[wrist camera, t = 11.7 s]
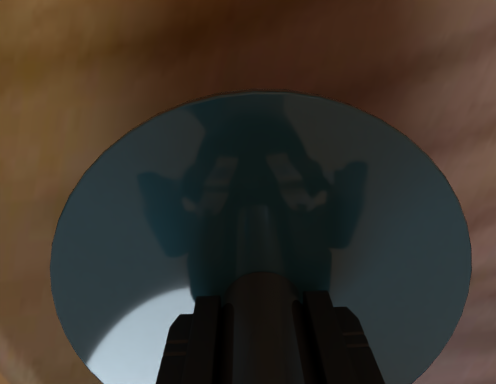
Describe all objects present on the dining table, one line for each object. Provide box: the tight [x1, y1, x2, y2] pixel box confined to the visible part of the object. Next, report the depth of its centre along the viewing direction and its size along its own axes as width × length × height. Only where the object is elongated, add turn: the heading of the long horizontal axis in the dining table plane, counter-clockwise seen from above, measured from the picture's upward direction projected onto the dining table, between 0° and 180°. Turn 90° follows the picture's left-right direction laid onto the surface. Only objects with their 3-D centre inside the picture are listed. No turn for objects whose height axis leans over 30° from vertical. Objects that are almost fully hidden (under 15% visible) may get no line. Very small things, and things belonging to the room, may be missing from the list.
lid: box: [50, 89, 472, 384], centre depth 10 cm, size 14×14×6 cm
